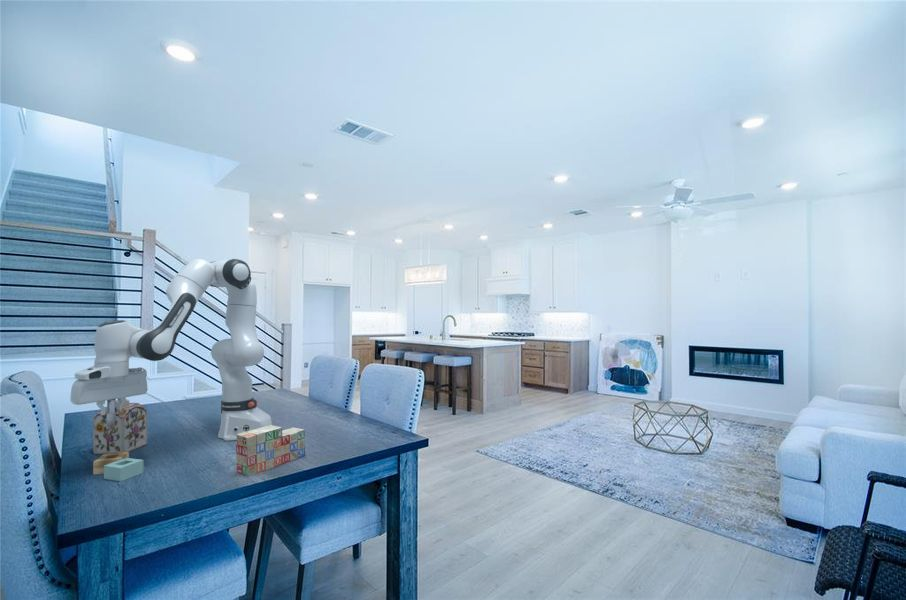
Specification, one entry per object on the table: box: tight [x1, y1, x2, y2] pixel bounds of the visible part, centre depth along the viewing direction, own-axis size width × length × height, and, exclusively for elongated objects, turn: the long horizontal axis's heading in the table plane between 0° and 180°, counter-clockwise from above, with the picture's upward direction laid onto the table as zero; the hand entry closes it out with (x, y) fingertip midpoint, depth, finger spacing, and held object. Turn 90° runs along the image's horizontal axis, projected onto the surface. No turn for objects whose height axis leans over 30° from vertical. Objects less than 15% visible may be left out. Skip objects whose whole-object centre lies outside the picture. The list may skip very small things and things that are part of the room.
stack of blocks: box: [235, 424, 306, 477], centre depth 142 cm, size 21×6×12 cm, turn 147°
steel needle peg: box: [106, 399, 117, 429], centre depth 139 cm, size 2×2×13 cm
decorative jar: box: [92, 398, 148, 455], centre depth 158 cm, size 12×12×18 cm
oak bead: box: [92, 452, 130, 475], centre depth 139 cm, size 7×7×4 cm
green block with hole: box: [103, 457, 144, 482], centre depth 133 cm, size 7×7×4 cm
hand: (111, 413), depth 139 cm, fingers closed on steel needle peg, 2 cm apart
